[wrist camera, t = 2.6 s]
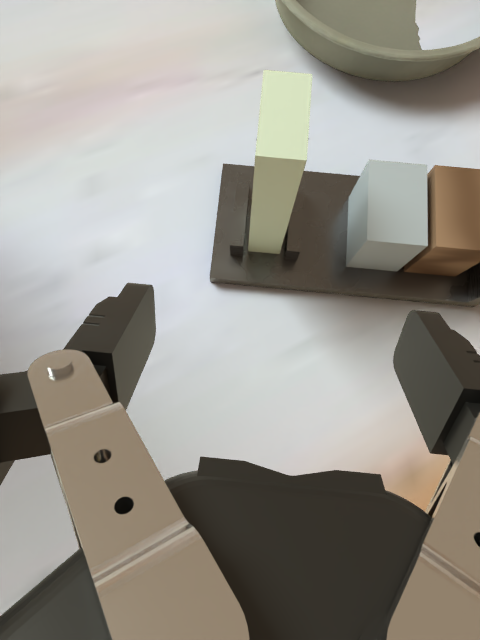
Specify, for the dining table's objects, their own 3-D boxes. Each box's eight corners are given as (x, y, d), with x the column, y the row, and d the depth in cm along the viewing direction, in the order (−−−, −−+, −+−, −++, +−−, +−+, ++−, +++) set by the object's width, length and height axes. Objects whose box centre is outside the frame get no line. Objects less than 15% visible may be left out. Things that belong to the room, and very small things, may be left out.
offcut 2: (403, 271, 30) (436, 246, 25) (404, 202, 32) (435, 165, 27) (455, 276, 30) (497, 251, 25) (453, 206, 32) (493, 170, 27)
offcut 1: (346, 266, 30) (366, 240, 26) (348, 197, 32) (369, 159, 27) (396, 271, 30) (427, 245, 25) (397, 201, 32) (427, 164, 27)
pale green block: (247, 251, 31) (255, 155, 19) (253, 193, 32) (263, 69, 20) (279, 254, 31) (306, 160, 19) (284, 196, 32) (312, 74, 20)
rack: (210, 281, 31) (206, 264, 27) (223, 170, 33) (221, 139, 29) (473, 306, 31) (507, 292, 27) (469, 193, 33) (500, 164, 29)
